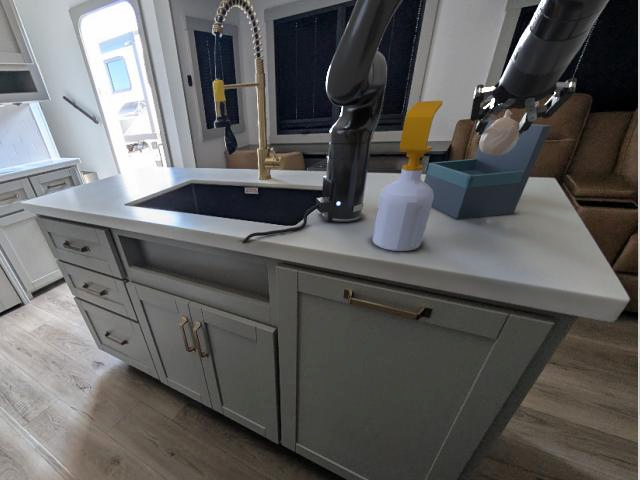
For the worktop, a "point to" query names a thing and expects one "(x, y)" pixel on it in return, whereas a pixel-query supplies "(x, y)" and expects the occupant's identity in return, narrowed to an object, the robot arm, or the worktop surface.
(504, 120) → the garlic bulb
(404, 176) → the soap bottle
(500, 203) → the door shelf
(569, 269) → the worktop surface
